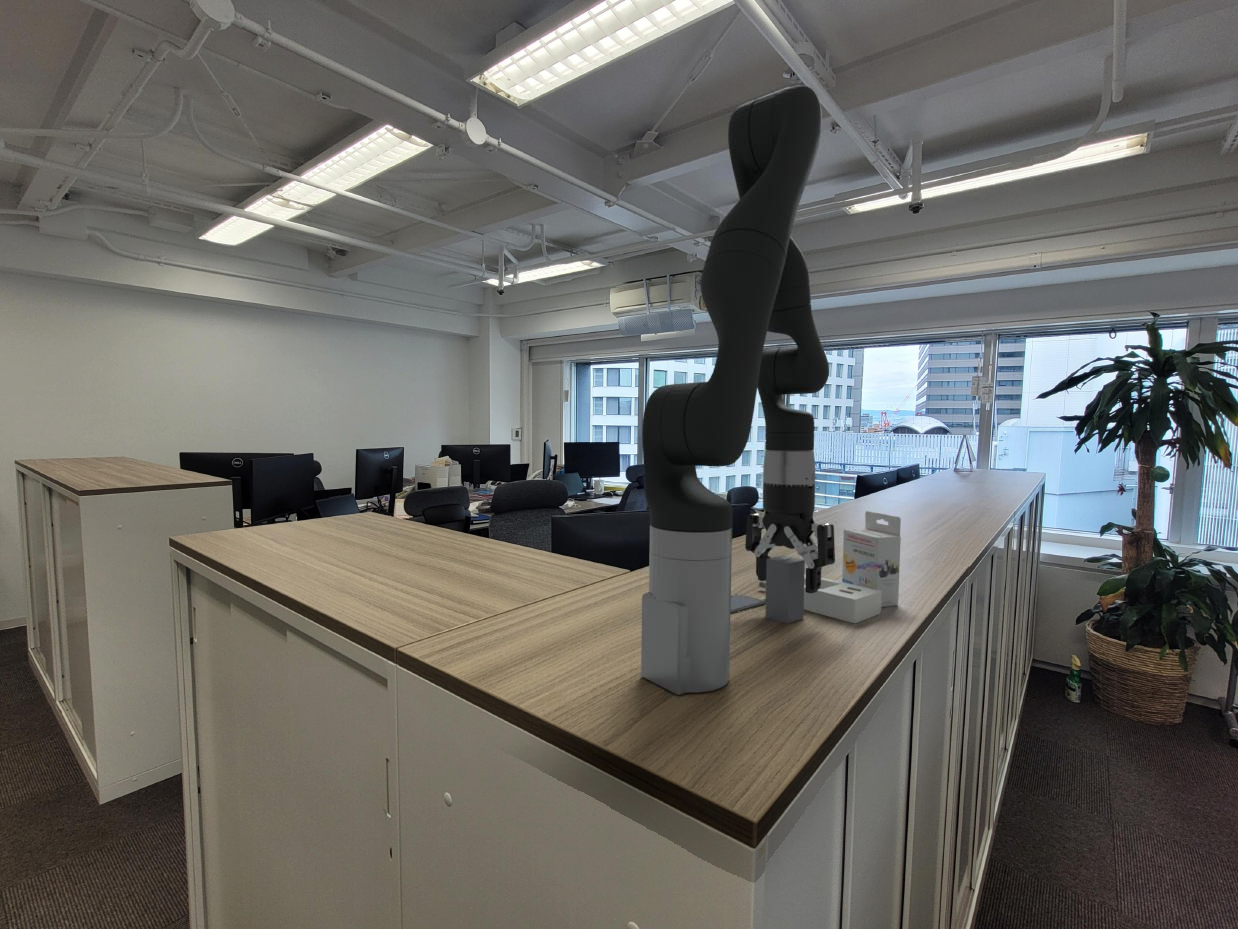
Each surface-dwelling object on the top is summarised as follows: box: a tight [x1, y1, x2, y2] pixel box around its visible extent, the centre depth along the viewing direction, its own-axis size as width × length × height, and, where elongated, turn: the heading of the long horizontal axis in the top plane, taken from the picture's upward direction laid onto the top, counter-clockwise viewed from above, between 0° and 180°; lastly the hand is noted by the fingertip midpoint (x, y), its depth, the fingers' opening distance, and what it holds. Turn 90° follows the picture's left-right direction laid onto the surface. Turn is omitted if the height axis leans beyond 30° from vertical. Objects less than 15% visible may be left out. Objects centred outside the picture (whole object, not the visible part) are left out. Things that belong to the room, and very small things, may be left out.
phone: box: [730, 594, 766, 615], centre depth 91 cm, size 12×6×1 cm, turn 128°
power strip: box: [758, 573, 882, 624], centre depth 93 cm, size 8×20×4 cm, turn 39°
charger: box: [765, 555, 806, 625], centre depth 85 cm, size 4×4×9 cm
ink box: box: [841, 510, 902, 608], centre depth 95 cm, size 8×5×15 cm, turn 17°
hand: (787, 586), depth 85 cm, fingers open, 8 cm apart
